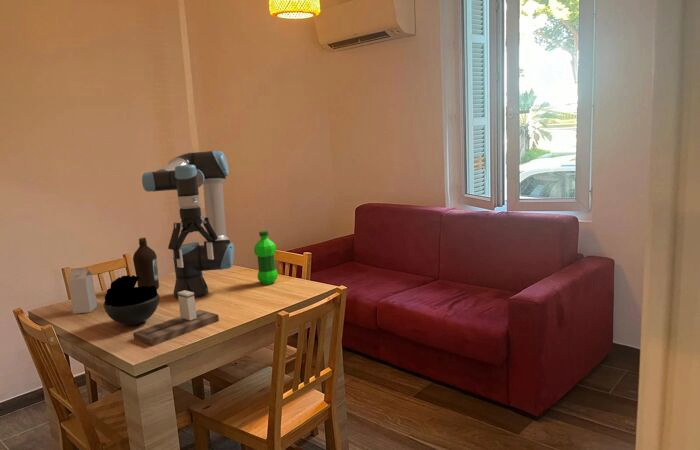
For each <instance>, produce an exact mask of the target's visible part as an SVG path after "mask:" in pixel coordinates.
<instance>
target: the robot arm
mask: <svg viewBox="0 0 700 450" xmlns="http://www.w3.org/2000/svg"><path fill="white" fill-rule="evenodd" d="M229 171H230V170H229V165H228V161H227V158H226V155H225V154H224V152H223V151H220V150H211V151H209V150H207V151H199V152H198V151H197V152H187V153H184V154H180V155H178V156H175V157H174V158H172V159H171V160H170V161H168V163H167V165H165V166H163V167H161V168H160V169H158V170H156V171H148V172H147V171H146V172H144V173H143V174H142V177H141V183H142V188H143V189H144V191H146V192H153V193H155V192H162V191H163V192H164V191H176V192H177V201H178V202H177V203H178V207H179V218H180V220H181V221H180V222H174V223H173V229H172V233H171V236H170V240H169V244H168V247H167V249H169V250H172V254H173V257H172V259H173V264H174V265H173V266H174V272H175V284H174V288H173V296H174V298H175V299H178V292H181V291H184V290H186V291H190V292H194V298H198V297H199V298H200V297H203V296H204V295H207V294H208V293H209V287H208V284H207V283H206V280H205V277H204V275H203V272H206V271H207V272H208V271H218V270H219V271H221V270H222V271H223V270H226V269H227V270H228V269H230V268H232V267H233V263H234V259H235V245H234V242H231V239H230V238H229V237H228V236H227V232H226V231H227V229H226V214H225V199H224V186H223V184H225V182H226V180H227V179H226V178H227V177H228V176H229V175H230V172H229ZM201 186H202V187H203V198H204V199H203V200H204V201H203V202H204V213H205V217H204V216H202V211H201V207H200V205H201V202H200V201H201V200H200V192H199V188H201ZM202 224H203V225H202ZM203 226H204V227H203ZM194 232H198V233H199V234H201V236H202V237H203V238H204V240H203V245H200V243H199V242H198V241H192V242H188V243H187V242H186V243H184V241H185V239H186V238H187V236H189V234H190V233H191V234H192V233H194ZM183 243H184V244H183Z"/></svg>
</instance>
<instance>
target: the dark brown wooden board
mask: <svg viewBox="0 0 700 450" xmlns="http://www.w3.org/2000/svg"><path fill="white" fill-rule="evenodd" d="M196 315H197V318H196V319H193V320H186V319H183V318H181V316H180V315H179V316H178V317H174V318H172V319H168V320H166V321H162V322H160V323H157V324H155V325H151V326H148V327H145V328H143V329H140V330H138V331H137V330H136V331H135V332H134V331H133V333H132V335H133V340H134V341H138V342H140V343H142V344H145V345H147V346H151V347H154V346H156V345H160V344H162V343H165V342H167V341H170V340H172V339H175V338H177V337H179V336H183V335H185V334H188V333H191V332H193V331H196V330H199V329H201V328H205V327H206V326H209V325H212V324H215V323H217V322H219V321H220V317H219V314H218V313H213V312H211V311H206V310H203V309H202V310H201V309H196Z"/></svg>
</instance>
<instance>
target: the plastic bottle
mask: <svg viewBox="0 0 700 450" xmlns="http://www.w3.org/2000/svg"><path fill="white" fill-rule="evenodd" d="M258 233H259V237H260V239H259V240H258V241H257V242H256V243H255V244H254V248H253V252H254V255H256V256H257V264H258V273H257V279H258V281H259V282H260V283H262V284H263V285H272V284H274V282H275V281H276V280H277V279H278V276H279V275H278V274H279V273H278V270H277V268H276V264H275V263H276V262H275V254H276V253H277V252H276V250H277V247H276V244H275V242H273V241H272V240H271V239H269V238H268V236H269V230H262V231H261V230H259V232H258Z"/></svg>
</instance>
